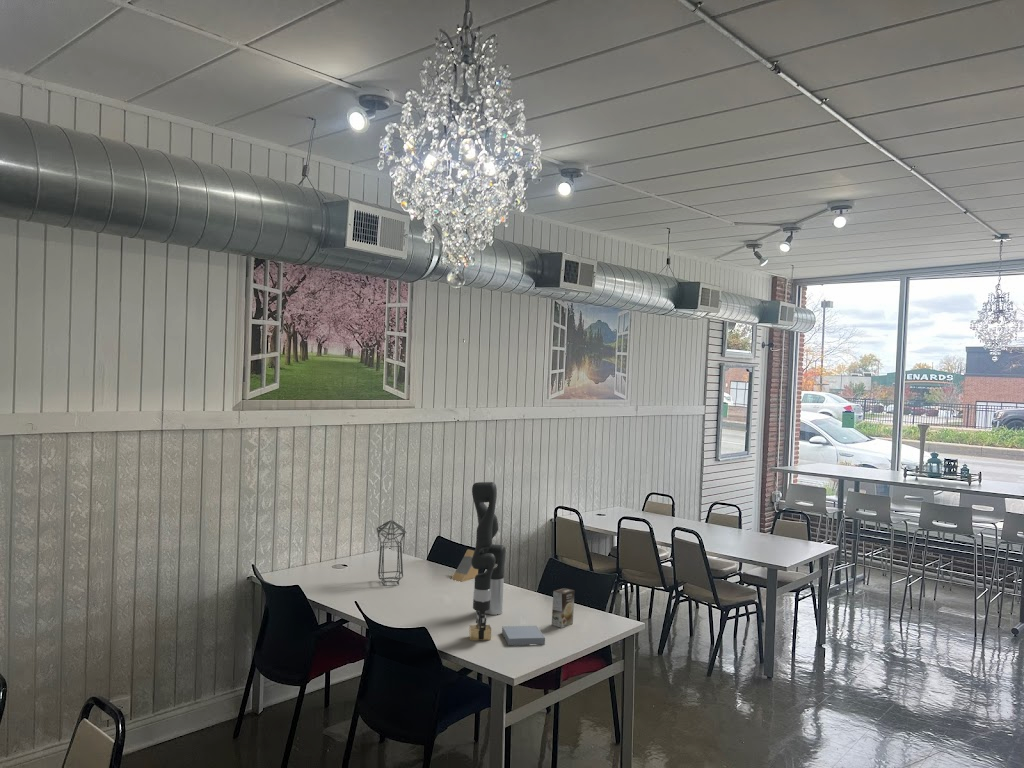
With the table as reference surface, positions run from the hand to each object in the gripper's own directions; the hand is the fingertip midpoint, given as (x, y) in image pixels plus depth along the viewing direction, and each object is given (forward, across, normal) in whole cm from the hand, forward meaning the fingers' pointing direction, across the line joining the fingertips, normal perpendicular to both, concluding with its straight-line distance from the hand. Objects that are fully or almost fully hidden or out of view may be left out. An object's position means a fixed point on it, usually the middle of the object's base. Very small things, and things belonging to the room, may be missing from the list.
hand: (480, 636), depth 326 cm
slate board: (+1, +2, +19) cm, 19 cm away
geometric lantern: (+1, -89, -37) cm, 96 cm away
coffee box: (+1, -16, +42) cm, 45 cm away
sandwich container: (+1, -99, +6) cm, 99 cm away
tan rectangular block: (+1, 0, 0) cm, 1 cm away
